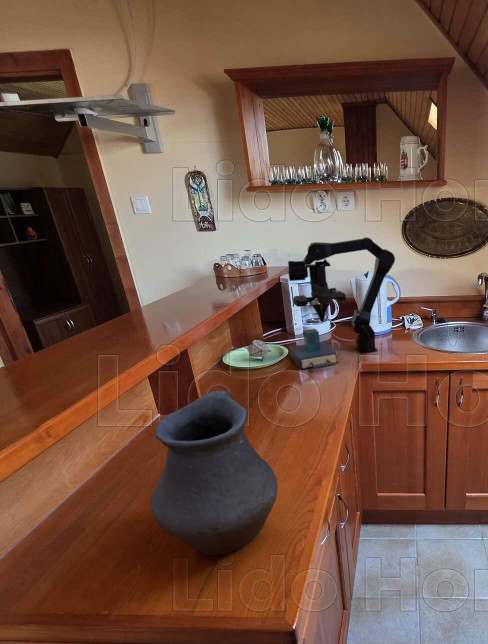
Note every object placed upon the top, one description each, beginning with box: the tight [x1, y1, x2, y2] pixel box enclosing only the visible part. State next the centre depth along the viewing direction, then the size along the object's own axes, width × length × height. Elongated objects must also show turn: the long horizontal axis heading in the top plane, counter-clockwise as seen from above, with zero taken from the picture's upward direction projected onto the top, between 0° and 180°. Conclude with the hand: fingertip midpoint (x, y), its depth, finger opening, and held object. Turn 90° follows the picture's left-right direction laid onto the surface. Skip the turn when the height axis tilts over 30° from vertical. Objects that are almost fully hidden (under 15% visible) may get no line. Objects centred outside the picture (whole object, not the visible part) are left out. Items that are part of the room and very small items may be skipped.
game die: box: [244, 337, 272, 362], centre depth 158 cm, size 9×8×10 cm
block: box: [302, 328, 321, 352], centre depth 154 cm, size 4×4×7 cm
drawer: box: [301, 354, 337, 370], centre depth 153 cm, size 17×12×3 cm
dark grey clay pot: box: [150, 389, 279, 556], centre depth 72 cm, size 21×22×25 cm
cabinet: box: [289, 341, 338, 370], centre depth 156 cm, size 14×14×4 cm
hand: (321, 321), depth 158 cm, fingers closed
